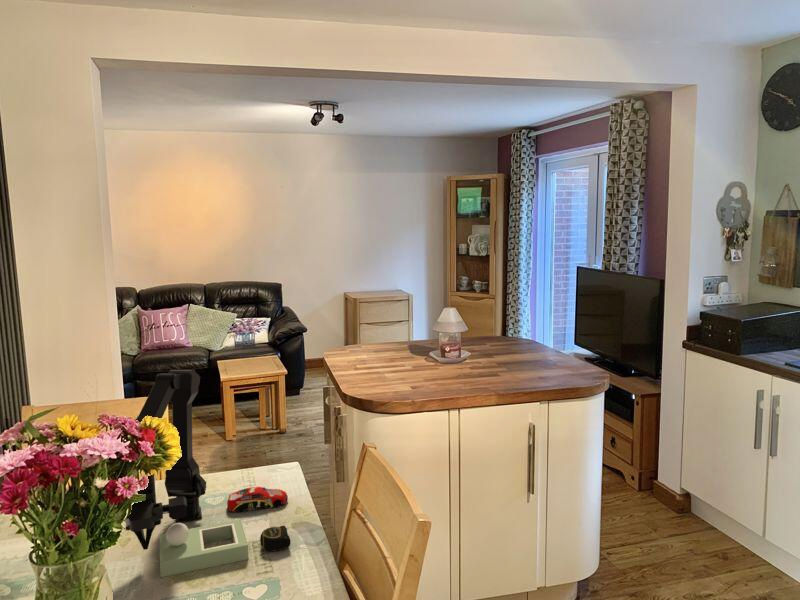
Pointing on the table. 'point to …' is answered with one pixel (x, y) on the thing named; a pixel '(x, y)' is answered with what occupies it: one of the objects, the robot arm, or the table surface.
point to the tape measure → (275, 538)
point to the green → (193, 550)
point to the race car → (256, 499)
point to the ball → (177, 534)
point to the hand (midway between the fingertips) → (145, 548)
